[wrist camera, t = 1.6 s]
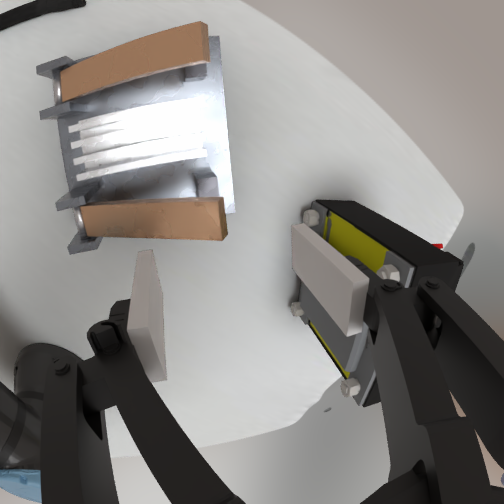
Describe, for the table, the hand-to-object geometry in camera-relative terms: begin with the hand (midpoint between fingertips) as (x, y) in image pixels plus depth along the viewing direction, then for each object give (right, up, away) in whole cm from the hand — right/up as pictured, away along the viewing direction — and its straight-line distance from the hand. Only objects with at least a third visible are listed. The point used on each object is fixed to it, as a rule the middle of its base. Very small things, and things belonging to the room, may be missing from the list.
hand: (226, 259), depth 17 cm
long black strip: (-26, +29, +4) cm, 39 cm away
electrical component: (+12, 0, +28) cm, 31 cm away
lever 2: (-7, +3, +8) cm, 12 cm away
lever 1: (-8, +15, +3) cm, 18 cm away
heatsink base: (-11, +13, +15) cm, 23 cm away
